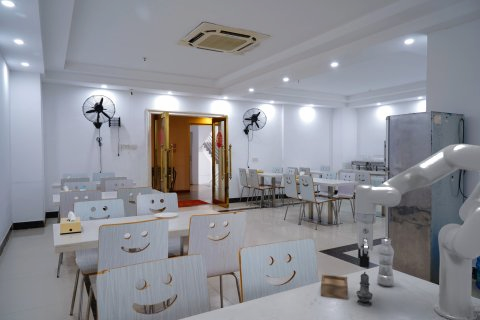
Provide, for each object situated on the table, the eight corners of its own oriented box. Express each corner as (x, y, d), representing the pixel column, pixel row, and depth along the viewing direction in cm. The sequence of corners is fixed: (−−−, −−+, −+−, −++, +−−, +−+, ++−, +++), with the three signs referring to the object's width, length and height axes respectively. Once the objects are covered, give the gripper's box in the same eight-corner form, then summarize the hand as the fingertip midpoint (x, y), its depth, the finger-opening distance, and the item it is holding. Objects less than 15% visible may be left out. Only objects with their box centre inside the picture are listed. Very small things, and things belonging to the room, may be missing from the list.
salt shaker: (374, 307, 120) (374, 274, 119) (357, 305, 121) (357, 273, 121) (371, 300, 125) (371, 269, 125) (355, 298, 127) (355, 268, 126)
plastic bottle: (375, 285, 139) (376, 239, 139) (379, 280, 145) (379, 236, 145) (392, 289, 136) (392, 241, 135) (395, 284, 141) (395, 238, 141)
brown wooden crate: (346, 289, 135) (347, 277, 135) (347, 299, 126) (347, 286, 126) (322, 286, 138) (322, 274, 138) (320, 296, 129) (321, 283, 129)
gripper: (378, 223, 113) (376, 272, 114) (373, 214, 130) (371, 257, 130) (355, 221, 115) (353, 269, 116) (353, 212, 132) (351, 254, 132)
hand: (363, 262), depth 123 cm, fingers open, 9 cm apart
